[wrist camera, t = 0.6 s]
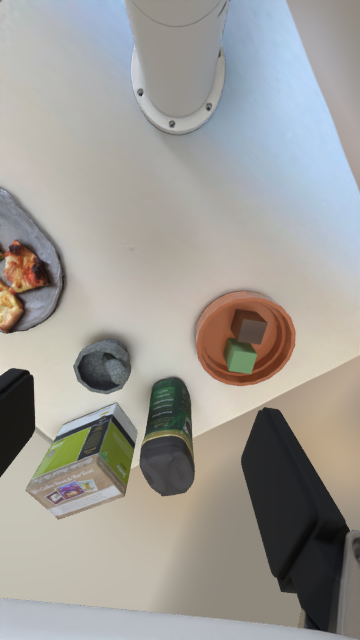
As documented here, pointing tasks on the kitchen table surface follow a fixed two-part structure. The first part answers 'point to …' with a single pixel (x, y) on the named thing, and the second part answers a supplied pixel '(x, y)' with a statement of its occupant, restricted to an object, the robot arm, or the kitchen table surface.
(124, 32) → the kitchen table surface
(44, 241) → the food plate
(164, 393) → the coffee jar
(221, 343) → the bowl
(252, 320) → the walnut block
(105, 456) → the tea box
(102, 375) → the mortar and pestle
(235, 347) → the sage-green block
